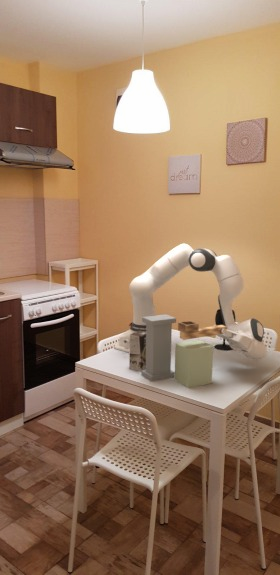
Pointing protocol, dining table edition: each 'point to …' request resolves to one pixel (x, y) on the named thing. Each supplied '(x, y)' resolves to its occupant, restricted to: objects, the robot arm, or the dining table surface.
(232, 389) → the dining table surface
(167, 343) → the tower
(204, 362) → the box
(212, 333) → the catapult arm
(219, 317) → the wine glass
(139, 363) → the coffee box
